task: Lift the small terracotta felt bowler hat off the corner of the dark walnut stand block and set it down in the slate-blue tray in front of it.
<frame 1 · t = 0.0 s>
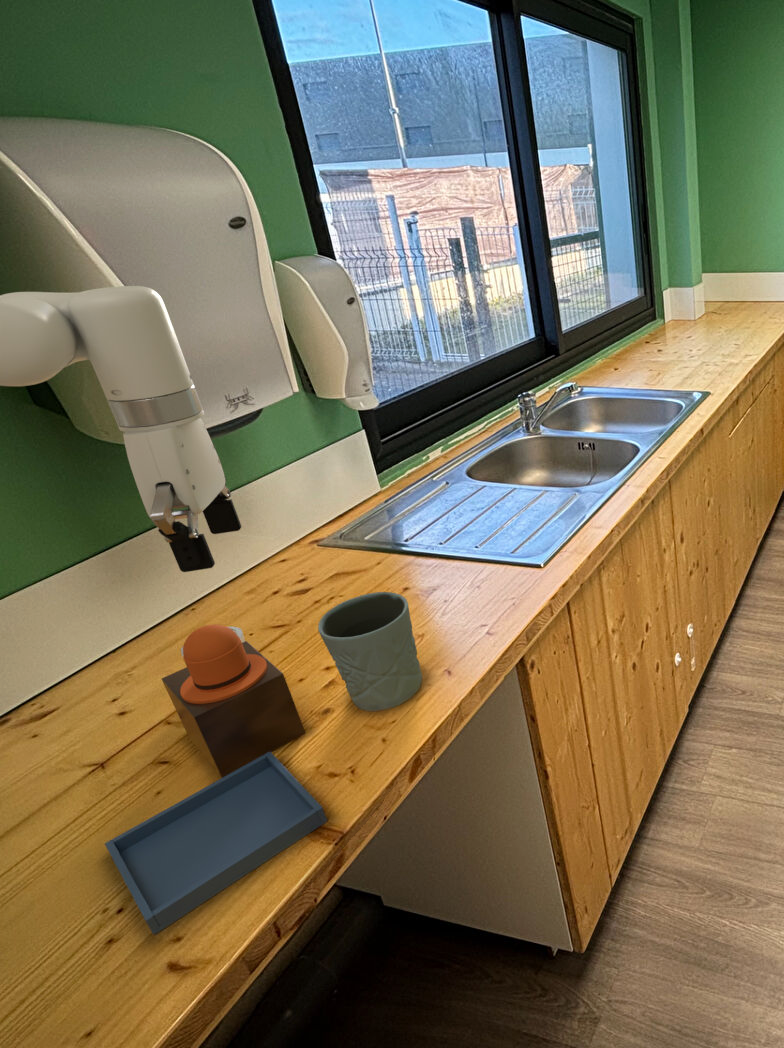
hand: (213, 549, 82), 22 cm above the countertop, tool pointing down, fingers open, 9 cm apart
grey-green cup: (387, 691, 91), on the countertop
shot glass: (230, 684, 94), on the countertop
hat: (225, 679, 80), point 9 cm above the countertop, touching stand block
stand block: (247, 735, 85), on the countertop
tray: (222, 838, 71), on the countertop
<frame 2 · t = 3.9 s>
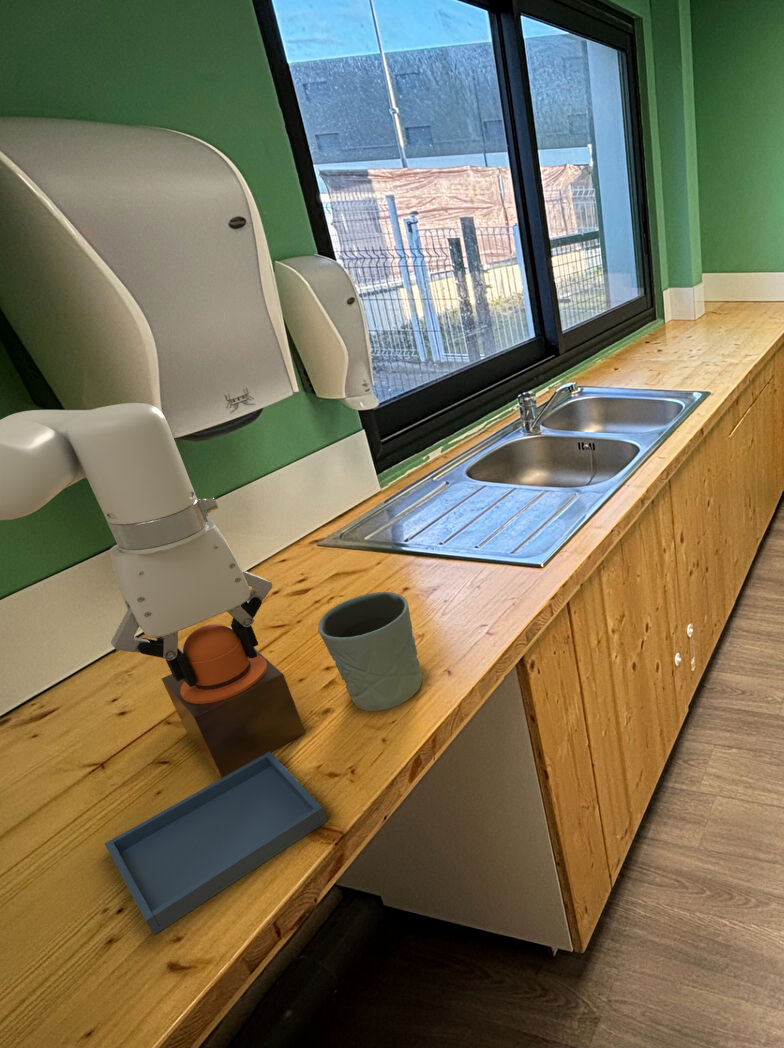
hand: (219, 665, 79), 11 cm above the countertop, tool pointing down, fingers closed on hat, 5 cm apart
hat: (225, 679, 80), point 9 cm above the countertop, touching gripper, stand block
everything else where it was.
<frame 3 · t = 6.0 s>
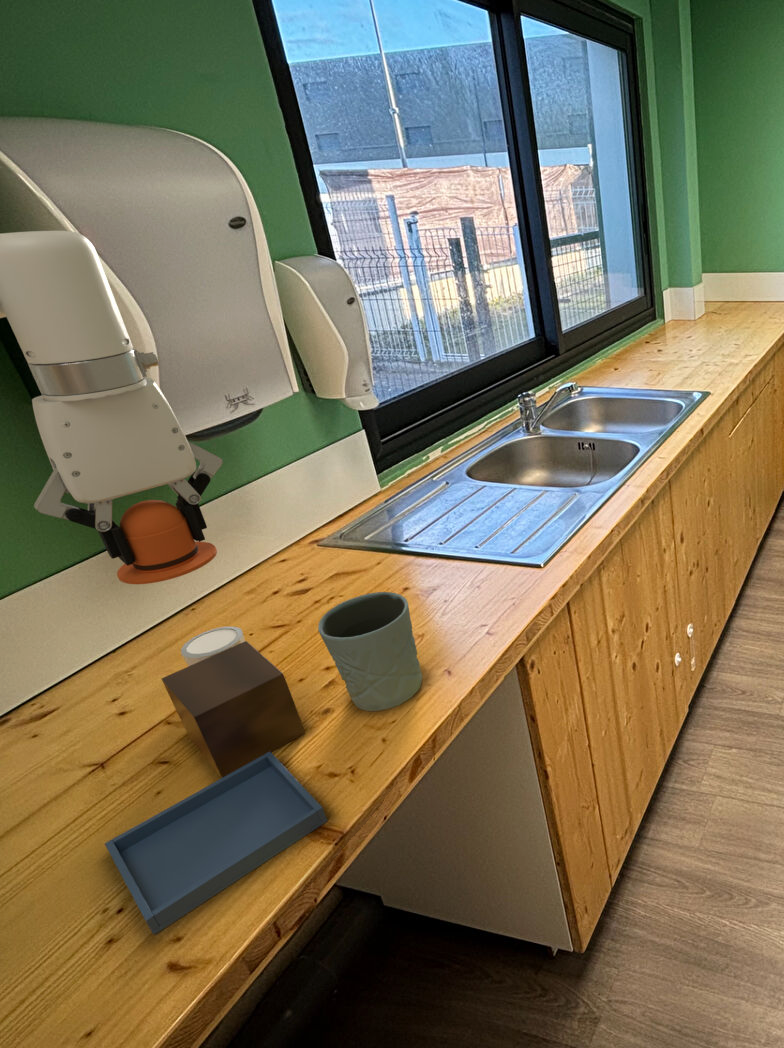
hand: (162, 547, 72), 27 cm above the countertop, tool pointing down, fingers closed on hat, 5 cm apart
hat: (169, 563, 73), point 25 cm above the countertop, touching gripper
everything else where it was.
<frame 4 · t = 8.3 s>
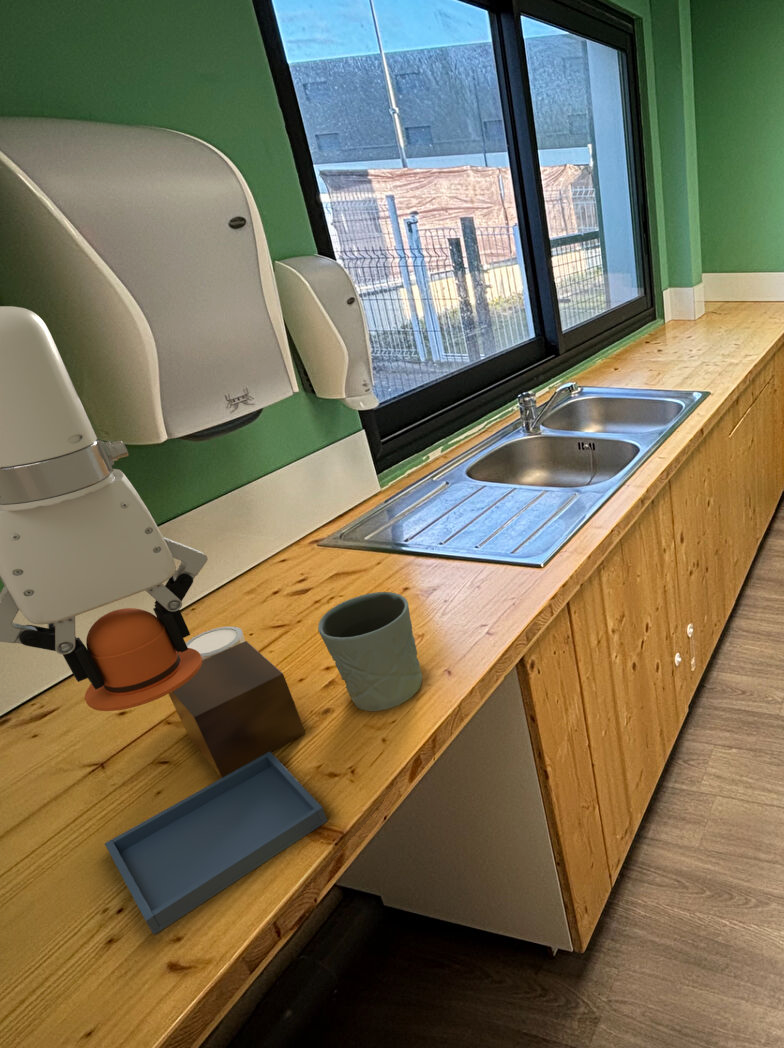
hand: (138, 661, 62), 22 cm above the countertop, tool pointing down, fingers closed on hat, 5 cm apart
hat: (146, 679, 62), point 20 cm above the countertop, touching gripper
everything else where it was.
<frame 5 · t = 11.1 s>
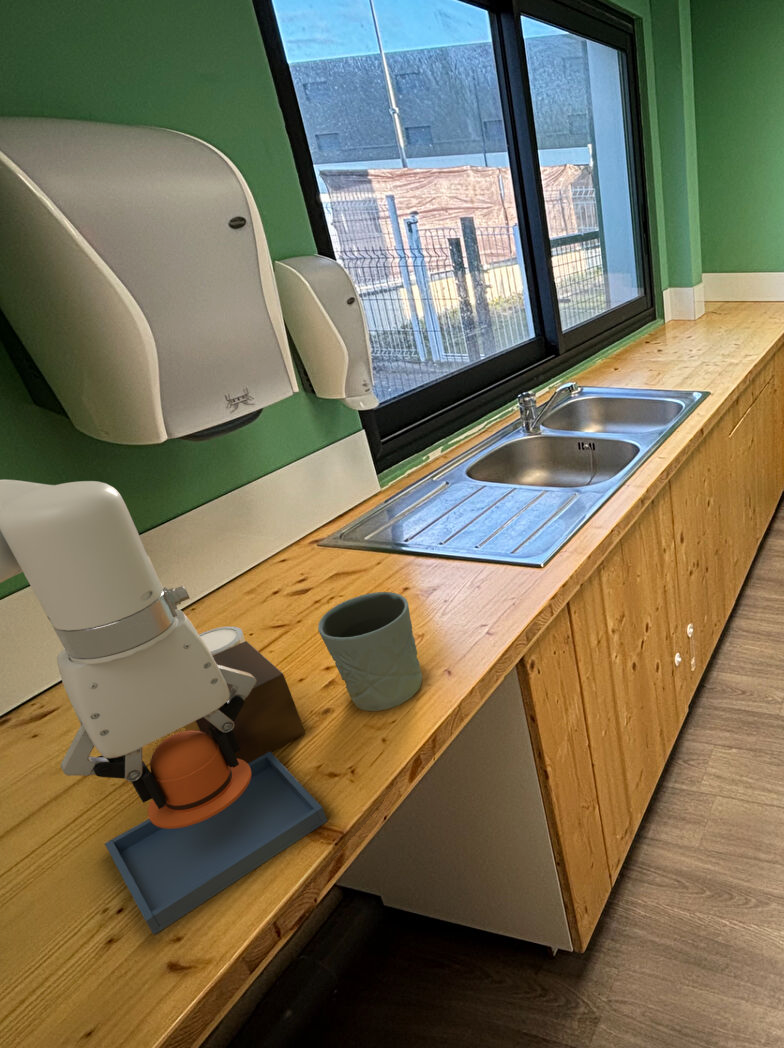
hand: (194, 778, 67), 8 cm above the countertop, tool pointing down, fingers closed on hat, 5 cm apart
hat: (201, 792, 68), point 6 cm above the countertop, touching gripper
everything else where it was.
when the fingers open (2 cm above the countertop, at t = 12.9 s): hat stays where it is, resting on tray.
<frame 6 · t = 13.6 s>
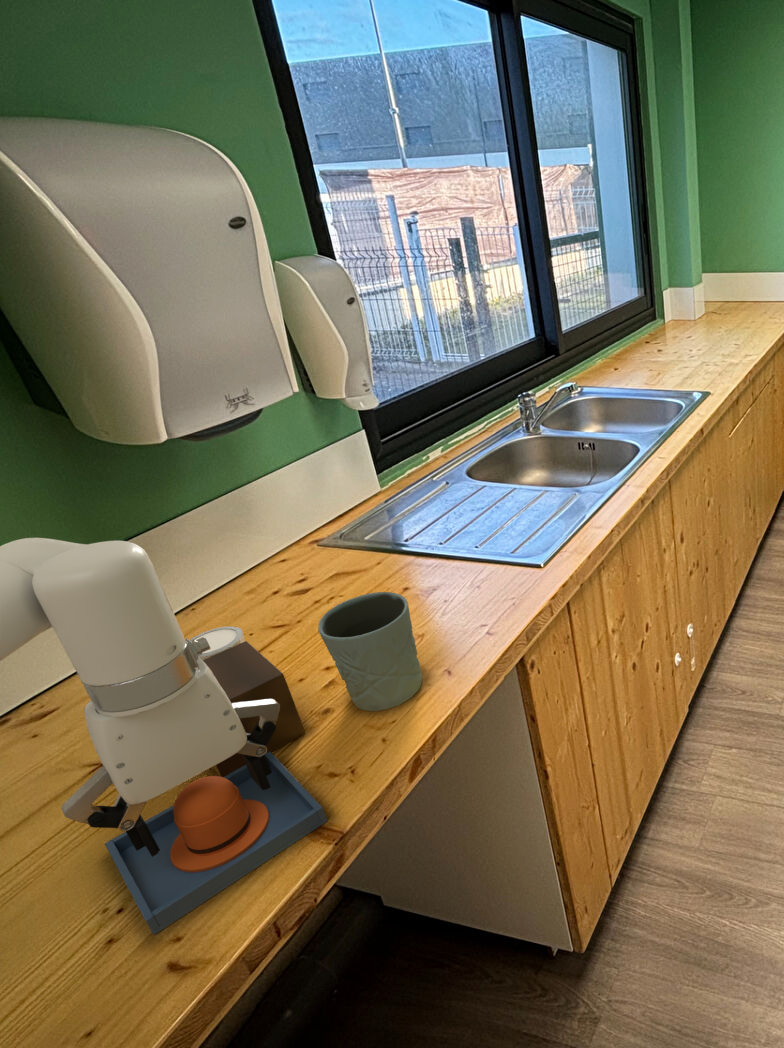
hand: (209, 813, 69), 4 cm above the countertop, tool pointing down, fingers open, 9 cm apart
hat: (221, 835, 71), resting on tray
everything else where it was.
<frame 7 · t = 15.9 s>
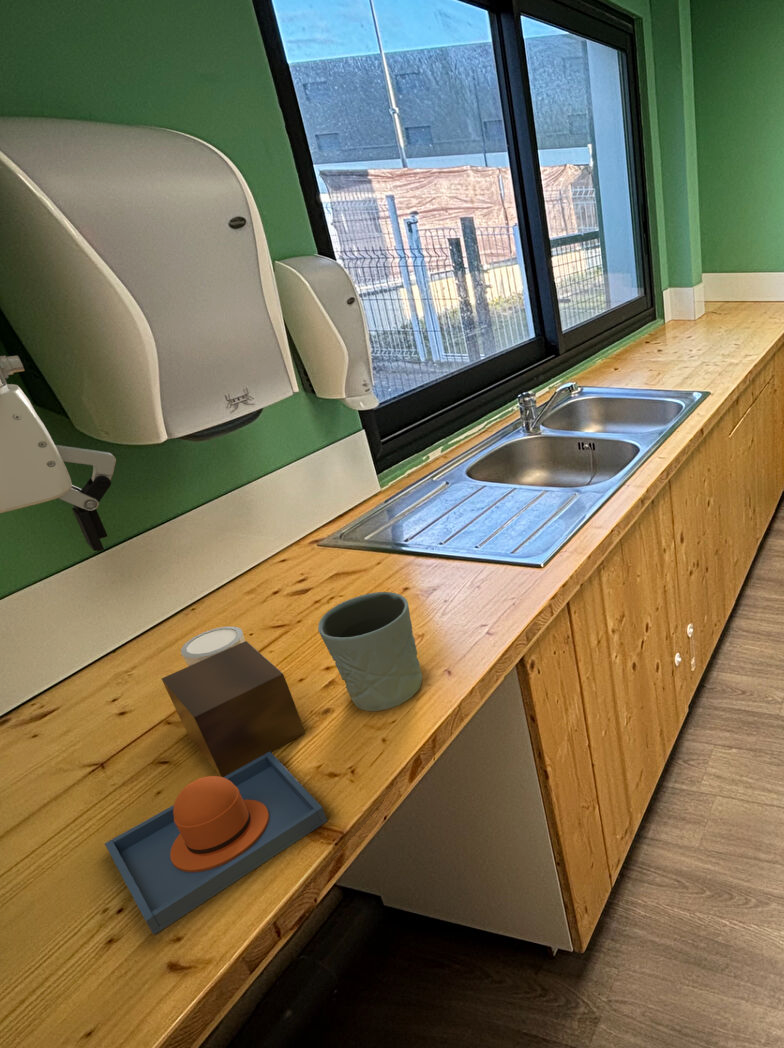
hand: (29, 566, 63), 29 cm above the countertop, tool pointing down, fingers open, 9 cm apart
nothing on the countertop moved.
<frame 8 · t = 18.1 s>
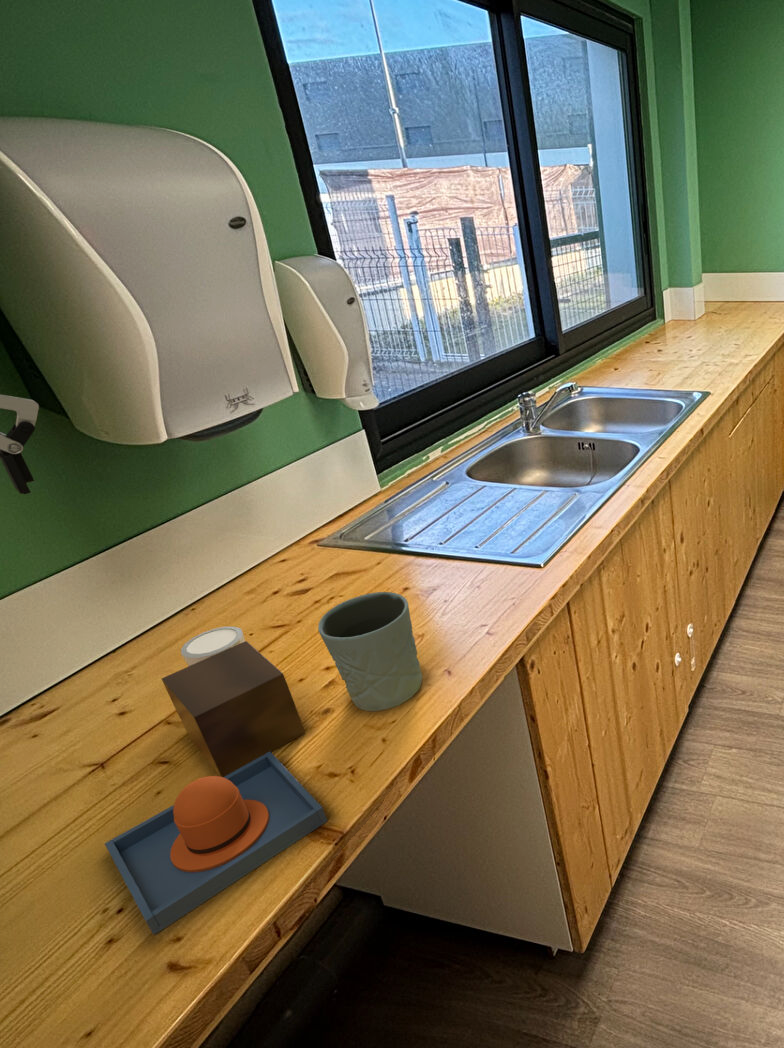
nothing on the countertop moved.
at the end: hat inside the target area in the tray (0.1 cm from its centre), point 0.5 cm above the tray's base; hat tilted 0°; hat touching tray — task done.
